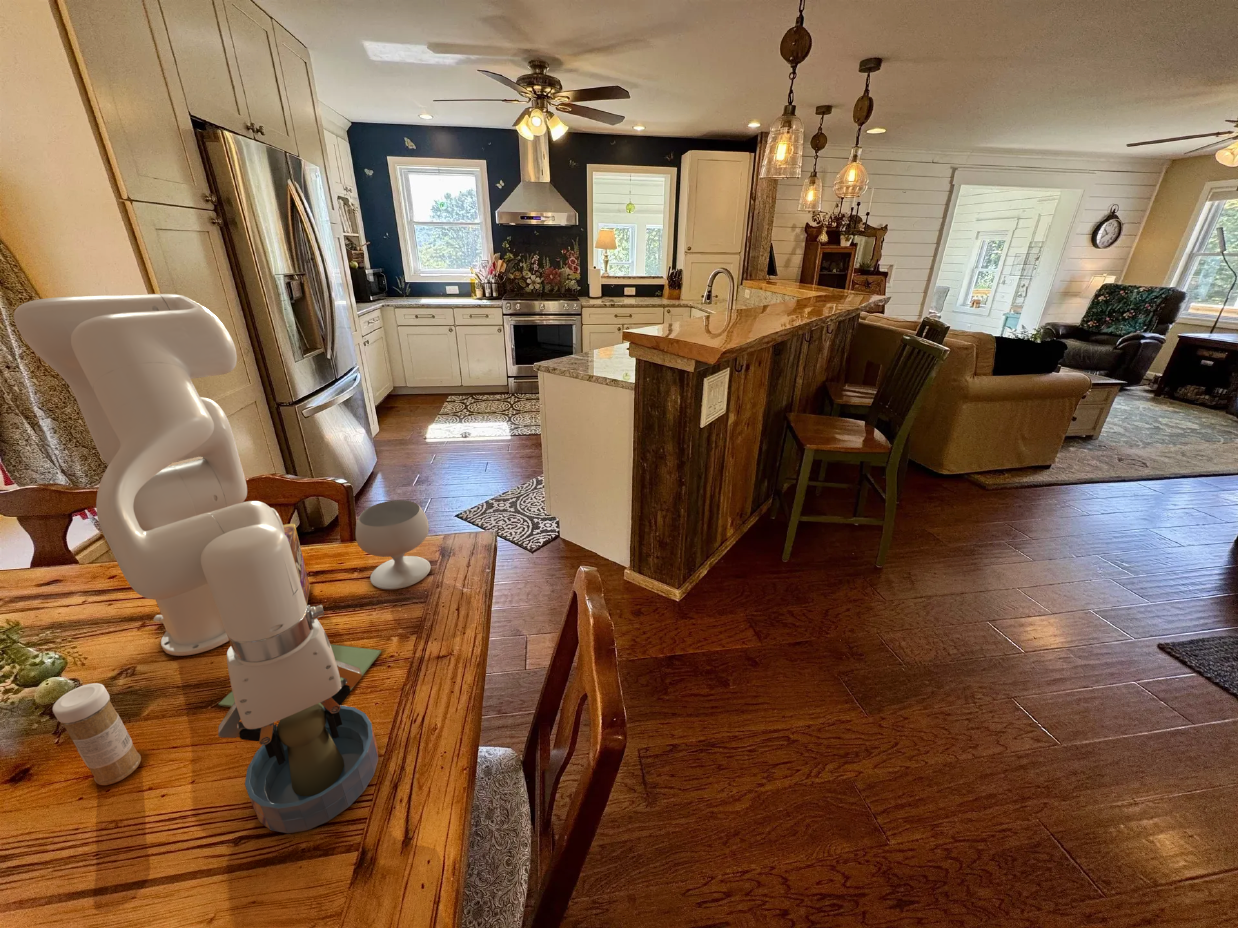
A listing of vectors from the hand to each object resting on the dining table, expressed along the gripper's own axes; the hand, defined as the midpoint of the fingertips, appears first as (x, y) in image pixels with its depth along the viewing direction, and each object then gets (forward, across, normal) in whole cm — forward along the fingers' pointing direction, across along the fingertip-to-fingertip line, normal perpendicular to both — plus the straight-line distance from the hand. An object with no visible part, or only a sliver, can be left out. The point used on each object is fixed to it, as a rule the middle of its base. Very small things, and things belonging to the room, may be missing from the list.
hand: (308, 741), depth 63 cm
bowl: (+7, 0, 0) cm, 7 cm away
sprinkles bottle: (+7, +21, -17) cm, 28 cm away
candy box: (+7, -2, -43) cm, 43 cm away
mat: (+7, -1, -20) cm, 21 cm away
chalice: (+7, -21, -41) cm, 46 cm away
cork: (+6, 0, 0) cm, 6 cm away
